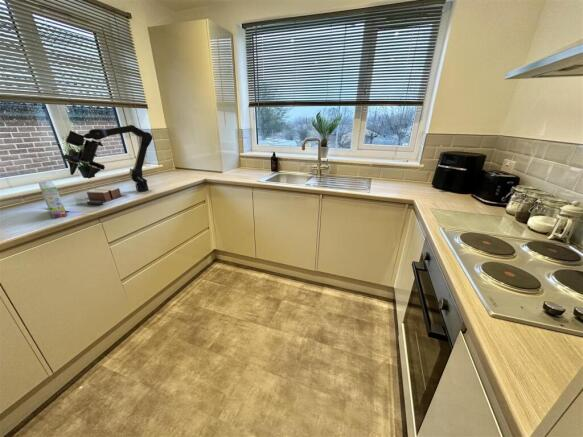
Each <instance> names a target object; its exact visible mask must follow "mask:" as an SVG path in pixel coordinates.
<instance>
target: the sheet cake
mask: <svg viewBox="0 0 583 437" xmlns="http://www.w3.org/2000/svg"><path fill="white" fill-rule="evenodd" d="M93 190H108V191H109V194H110V197H111V198H114V197H117V196H120V195H122V194H121V189H120V187H118V186H117V187H116V186H100V187H96V188H94V189H93Z"/></svg>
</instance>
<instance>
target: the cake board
mask: <svg viewBox="0 0 583 437" xmlns="http://www.w3.org/2000/svg"><path fill="white" fill-rule="evenodd" d="M127 196H128V194H121V195H120V196H117V197H114V198H111V199H108V200H93V201H103V204H106V203H110V202H111V201H114V200H118V199H120V198H124V197H127ZM85 199H88V200H89V201H90V200H92V199H89V198H88V197H85Z"/></svg>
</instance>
